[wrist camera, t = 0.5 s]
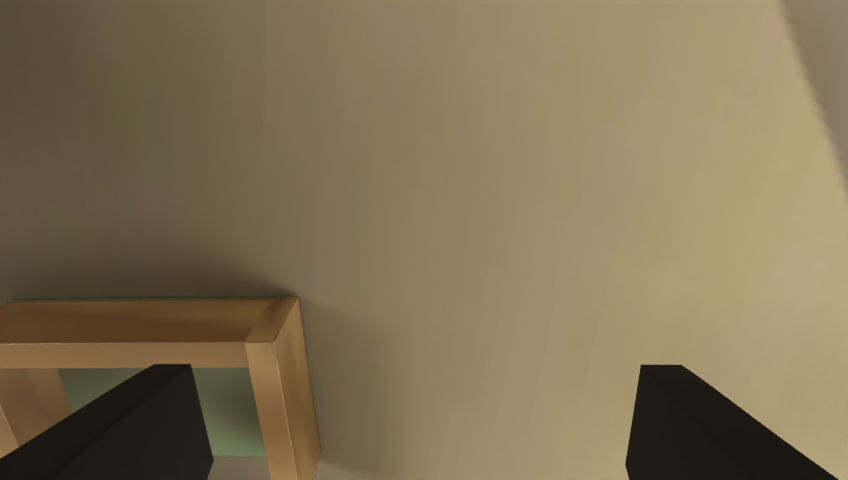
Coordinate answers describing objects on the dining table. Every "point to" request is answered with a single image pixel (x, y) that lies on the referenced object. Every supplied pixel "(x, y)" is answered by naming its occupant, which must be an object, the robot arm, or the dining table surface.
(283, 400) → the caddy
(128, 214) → the dining table surface
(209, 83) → the dining table surface
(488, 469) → the dining table surface
